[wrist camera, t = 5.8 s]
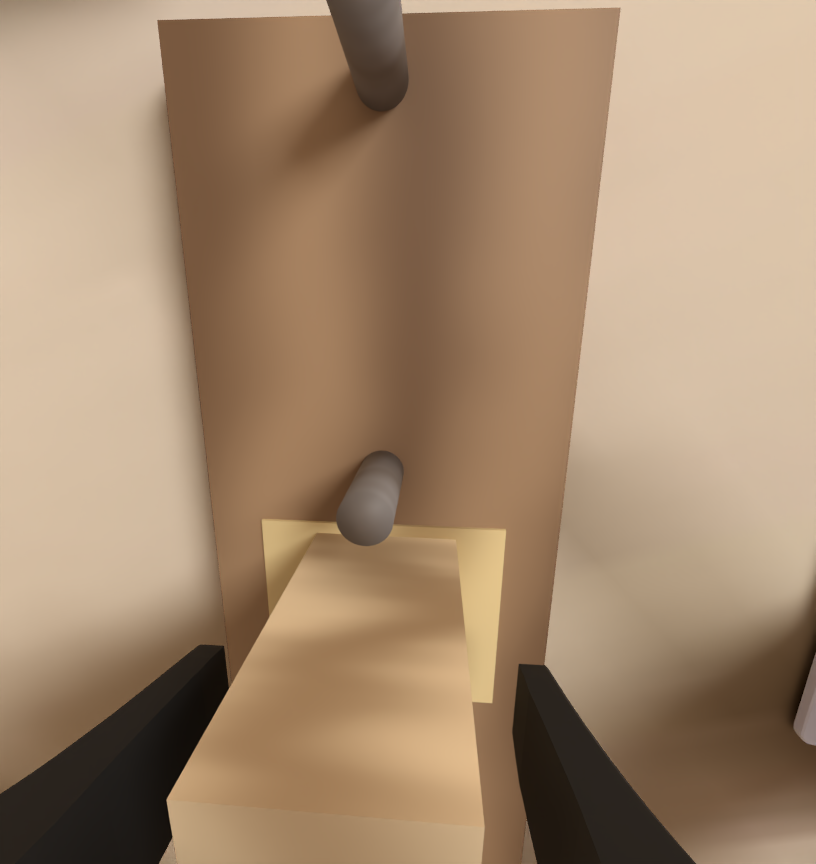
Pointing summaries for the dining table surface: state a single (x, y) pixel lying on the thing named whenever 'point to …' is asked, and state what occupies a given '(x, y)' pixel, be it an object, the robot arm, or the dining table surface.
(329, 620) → the light brown rectangular slab
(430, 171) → the peg board
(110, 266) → the dining table surface
